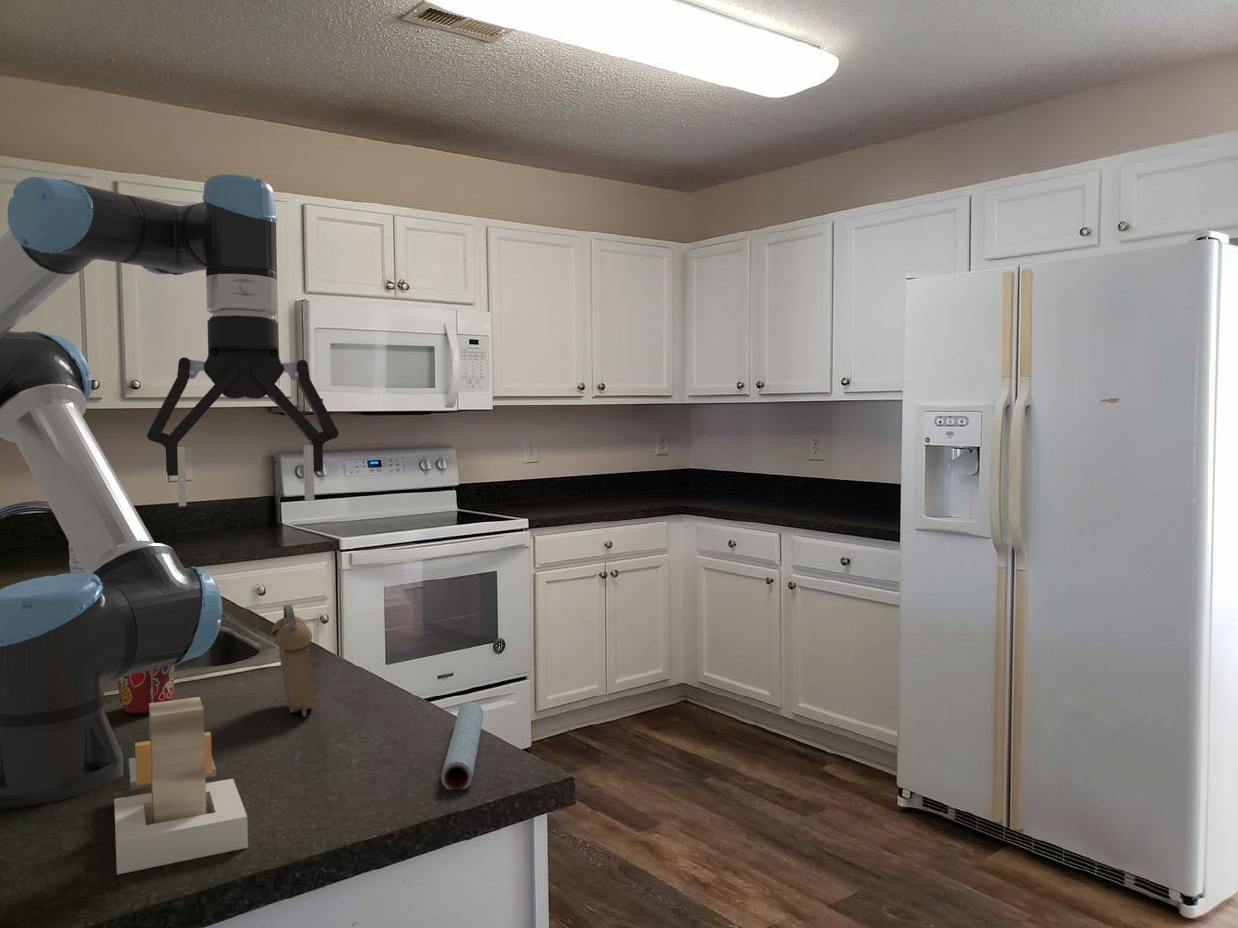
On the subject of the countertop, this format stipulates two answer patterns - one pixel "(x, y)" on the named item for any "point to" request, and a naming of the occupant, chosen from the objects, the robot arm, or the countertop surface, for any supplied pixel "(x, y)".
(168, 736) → the peg
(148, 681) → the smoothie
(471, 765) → the aluminum foil
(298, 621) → the alarm clock
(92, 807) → the countertop surface
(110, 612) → the robot arm
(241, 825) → the socket
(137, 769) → the shutter
